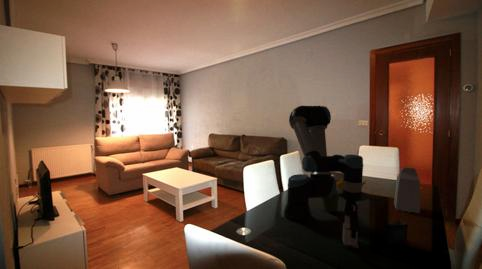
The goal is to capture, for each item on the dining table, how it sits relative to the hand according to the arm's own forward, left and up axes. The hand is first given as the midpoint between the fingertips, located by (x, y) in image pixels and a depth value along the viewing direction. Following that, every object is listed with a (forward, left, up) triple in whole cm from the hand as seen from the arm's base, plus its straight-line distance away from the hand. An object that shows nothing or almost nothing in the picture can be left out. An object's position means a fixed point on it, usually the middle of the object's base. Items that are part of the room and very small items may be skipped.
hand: (349, 236), depth 105 cm
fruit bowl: (-76, +8, -4) cm, 77 cm away
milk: (-54, +41, -4) cm, 68 cm away
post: (0, 0, -4) cm, 4 cm away
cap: (0, 0, -2) cm, 3 cm away
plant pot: (-38, -4, -4) cm, 38 cm away
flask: (-8, +21, -4) cm, 23 cm away
